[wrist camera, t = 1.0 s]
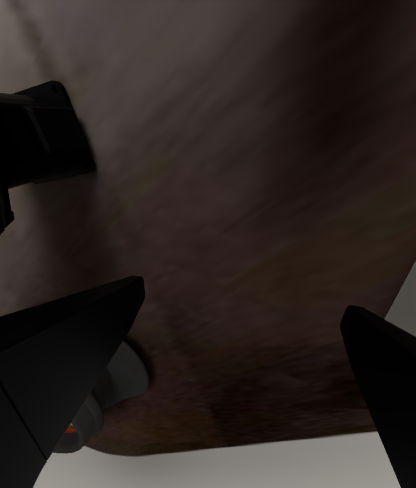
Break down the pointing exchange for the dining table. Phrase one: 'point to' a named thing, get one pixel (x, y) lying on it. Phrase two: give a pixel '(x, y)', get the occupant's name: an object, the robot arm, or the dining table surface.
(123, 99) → the dining table surface
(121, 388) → the casserole
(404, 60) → the dining table surface
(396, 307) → the domino
